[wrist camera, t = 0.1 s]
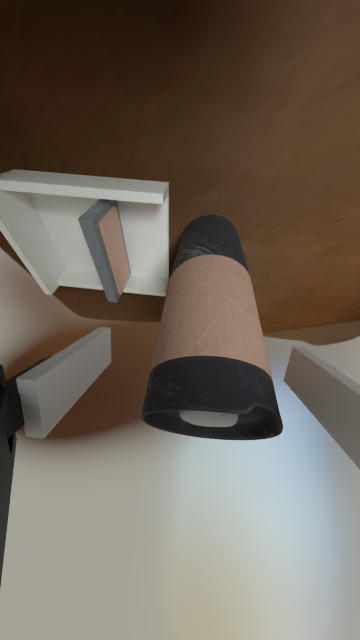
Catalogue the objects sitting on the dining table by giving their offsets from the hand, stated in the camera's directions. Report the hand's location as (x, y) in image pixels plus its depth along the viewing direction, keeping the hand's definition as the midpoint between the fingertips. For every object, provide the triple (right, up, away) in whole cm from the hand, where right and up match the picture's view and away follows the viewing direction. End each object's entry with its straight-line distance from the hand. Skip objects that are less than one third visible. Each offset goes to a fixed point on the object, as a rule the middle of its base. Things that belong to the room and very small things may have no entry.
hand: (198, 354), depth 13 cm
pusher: (-9, +13, +10) cm, 18 cm away
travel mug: (+2, +12, +10) cm, 16 cm away
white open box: (-11, +13, +10) cm, 20 cm away
